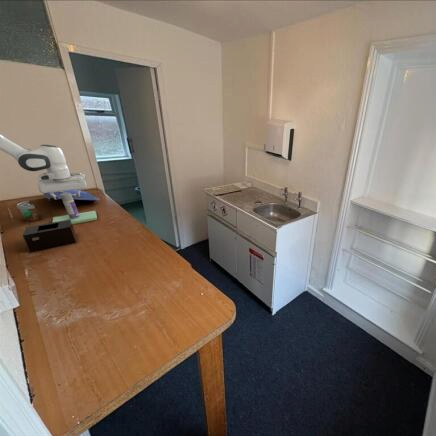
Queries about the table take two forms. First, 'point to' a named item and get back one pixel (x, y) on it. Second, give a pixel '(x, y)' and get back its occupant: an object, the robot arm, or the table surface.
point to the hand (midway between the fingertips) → (68, 197)
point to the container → (70, 205)
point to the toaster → (49, 235)
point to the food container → (28, 211)
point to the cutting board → (83, 217)
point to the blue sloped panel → (73, 195)
